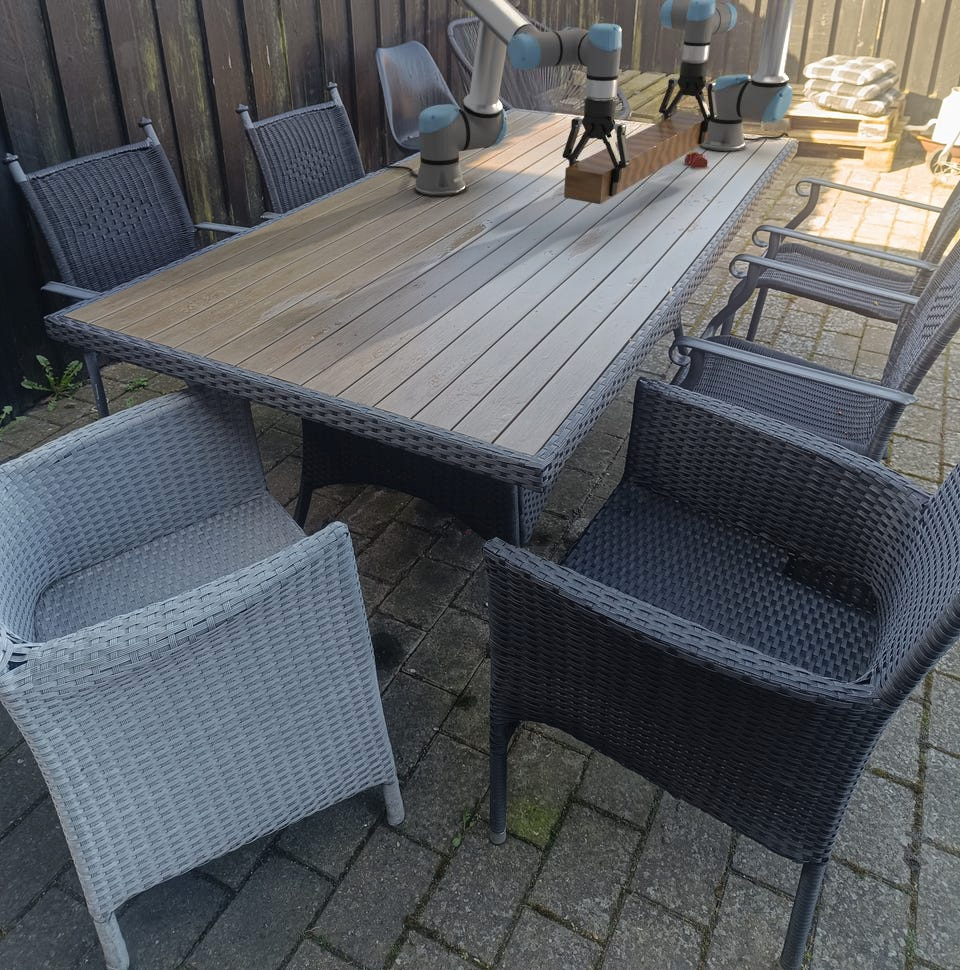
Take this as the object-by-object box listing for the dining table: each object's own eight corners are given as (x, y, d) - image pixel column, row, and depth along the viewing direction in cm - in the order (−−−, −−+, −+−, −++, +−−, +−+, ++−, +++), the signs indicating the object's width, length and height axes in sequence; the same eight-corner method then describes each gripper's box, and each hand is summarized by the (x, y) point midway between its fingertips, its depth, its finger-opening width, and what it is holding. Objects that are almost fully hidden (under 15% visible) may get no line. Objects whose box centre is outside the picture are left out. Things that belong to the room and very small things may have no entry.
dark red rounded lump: (699, 148, 281) (710, 154, 275) (697, 161, 284) (708, 168, 277) (683, 150, 280) (694, 156, 274) (682, 163, 283) (692, 170, 276)
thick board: (600, 204, 209) (602, 174, 205) (563, 197, 213) (565, 168, 209) (706, 141, 260) (710, 116, 256) (675, 137, 265) (679, 112, 260)
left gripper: (651, 100, 199) (640, 194, 212) (566, 89, 209) (560, 180, 222) (637, 106, 194) (627, 202, 207) (551, 94, 204) (547, 187, 217)
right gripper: (737, 62, 242) (724, 143, 255) (663, 55, 252) (654, 133, 265) (728, 66, 237) (715, 148, 250) (652, 59, 247) (644, 138, 260)
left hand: (593, 191), depth 215 cm, fingers closed on thick board, 10 cm apart
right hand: (684, 140), depth 257 cm, fingers closed on thick board, 10 cm apart
